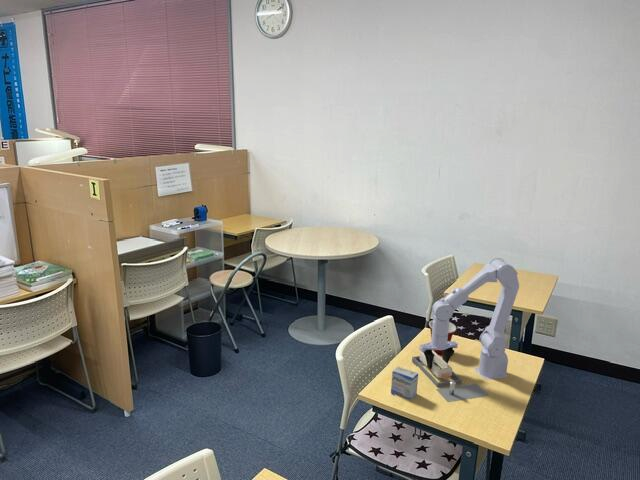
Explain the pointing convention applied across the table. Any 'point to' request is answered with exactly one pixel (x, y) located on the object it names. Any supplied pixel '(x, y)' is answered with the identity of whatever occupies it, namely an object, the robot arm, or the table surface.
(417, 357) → the tray
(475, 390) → the stake base
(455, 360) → the table surface
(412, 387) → the medicine box
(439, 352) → the plastic cup
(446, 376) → the cream rectangular sleeve
